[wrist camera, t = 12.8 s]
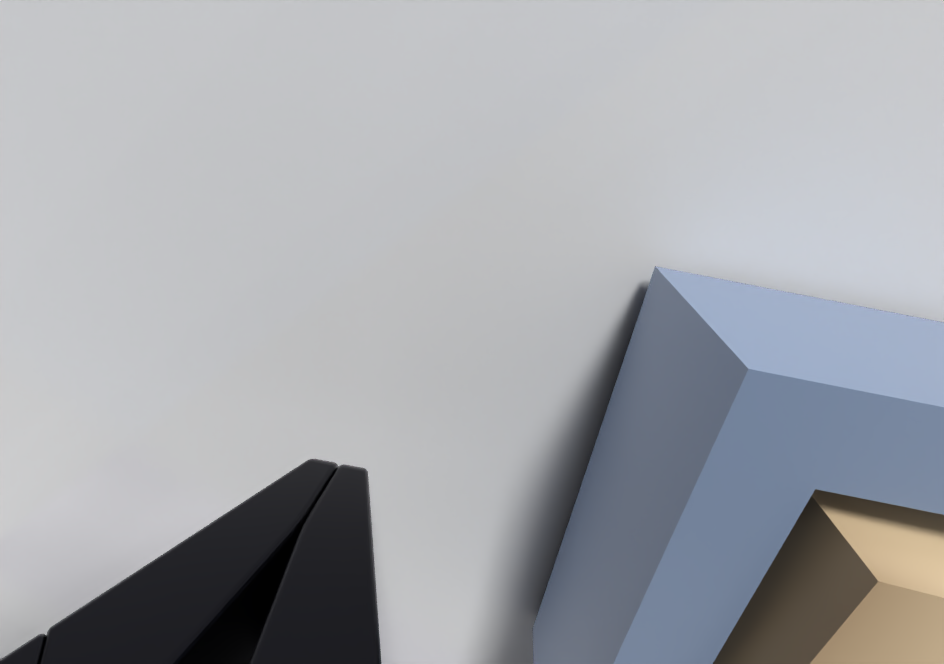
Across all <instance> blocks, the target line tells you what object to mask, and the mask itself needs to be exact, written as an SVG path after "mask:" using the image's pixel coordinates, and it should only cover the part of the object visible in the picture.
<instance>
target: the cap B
mask: <svg viewBox="0 0 944 664" xmlns="http://www.w3.org/2000/svg"><path fill="white" fill-rule="evenodd" d="M815 489H817V490H822V491H827V492H832V493H837V494H842V495H847V496H852V497H857V498H862V499H867V500H872V501H877V502H882V503H887V504H892V505H897V506H902V507H907V508H912V509H917V510H922V511H927V512H932V513H938V514H943V515H944V322H938V321H933V320H928V319H923V318H918V317H913V316H908V315H902V314H897V313H892V312H887V311H882V310H877V309H872V308H867V307H861V306H856V305H851V304H846V303H841V302H836V301H831V300H825V299H820V298H815V297H810V296H805V295H800V294H795V293H789V292H784V291H779V290H774V289H769V288H764V287H759V286H753V285H748V284H743V283H738V282H733V281H728V280H723V279H717V278H712V277H707V276H702V275H697V274H692V273H687V272H681V271H676V270H671V269H666V268H661V267H656V266H655V269H654V272H653V274H652V277H651V280H650V283H649V286H648V289H647V292H646V295H645V298H644V301H643V304H642V307H641V310H640V313H639V316H638V319H637V322H636V325H635V328H634V331H633V334H632V337H631V340H630V342H629V345H628V348H627V351H626V354H625V357H624V360H623V363H622V366H621V369H620V372H619V375H618V378H617V381H616V384H615V387H614V390H613V393H612V396H611V399H610V402H609V405H608V408H607V410H606V413H605V416H604V419H603V422H602V425H601V428H600V431H599V434H598V437H597V440H596V443H595V446H594V449H593V452H592V455H591V458H590V461H589V464H588V467H587V470H586V473H585V475H584V478H583V481H582V484H581V487H580V490H579V493H578V496H577V499H576V502H575V505H574V508H573V511H572V514H571V517H570V520H569V523H568V526H567V529H566V532H565V535H564V538H563V541H562V543H561V546H560V549H559V552H558V555H557V558H556V561H555V564H554V567H553V570H552V573H551V576H550V579H549V582H548V585H547V588H546V591H545V594H544V597H543V600H542V603H541V606H540V609H539V611H538V614H537V617H536V620H535V623H534V626H533V663H534V664H713V662H714V661H715V659H716V657H717V656H718V654H719V652H720V650H721V649H722V647H723V645H724V644H725V642H726V640H727V639H728V637H729V635H730V633H731V632H732V630H733V628H734V627H735V625H736V623H737V622H738V620H739V618H740V616H741V615H742V613H743V611H744V610H745V608H746V606H747V605H748V603H749V601H750V599H751V598H752V596H753V594H754V593H755V591H756V589H757V588H758V586H759V584H760V582H761V581H762V579H763V577H764V576H765V574H766V572H767V571H768V569H769V567H770V565H771V564H772V562H773V560H774V559H775V557H776V555H777V554H778V552H779V550H780V548H781V547H782V545H783V543H784V542H785V540H786V538H787V537H788V535H789V533H790V531H791V530H792V528H793V526H794V525H795V523H796V521H797V520H798V518H799V516H800V514H801V513H802V511H803V509H804V508H805V506H806V504H807V503H808V501H809V499H810V497H811V496H812V494H813V492H814V491H815Z"/></svg>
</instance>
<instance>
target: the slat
mask: <svg viewBox="0 0 944 664" xmlns="http://www.w3.org/2000/svg"><path fill="white" fill-rule="evenodd" d="M713 664H944V515H943V514H938V513H932V512H927V511H922V510H917V509H912V508H907V507H902V506H897V505H892V504H887V503H882V502H877V501H872V500H867V499H862V498H857V497H852V496H847V495H842V494H837V493H832V492H827V491H822V490H817V489H815V491H814V492H813V494H812V496H811V497H810V499H809V501H808V503H807V504H806V506H805V508H804V509H803V511H802V513H801V514H800V516H799V518H798V520H797V521H796V523H795V525H794V526H793V528H792V530H791V531H790V533H789V535H788V537H787V538H786V540H785V542H784V543H783V545H782V547H781V548H780V550H779V552H778V554H777V555H776V557H775V559H774V560H773V562H772V564H771V565H770V567H769V569H768V571H767V572H766V574H765V576H764V577H763V579H762V581H761V582H760V584H759V586H758V588H757V589H756V591H755V593H754V594H753V596H752V598H751V599H750V601H749V603H748V605H747V606H746V608H745V610H744V611H743V613H742V615H741V616H740V618H739V620H738V622H737V623H736V625H735V627H734V628H733V630H732V632H731V633H730V635H729V637H728V639H727V640H726V642H725V644H724V645H723V647H722V649H721V650H720V652H719V654H718V656H717V657H716V659H715V661H714V662H713Z"/></svg>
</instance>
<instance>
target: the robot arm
mask: <svg viewBox="0 0 944 664" xmlns="http://www.w3.org/2000/svg"><path fill="white" fill-rule="evenodd" d="M0 664H381V651H380V637H379V623H378V609H377V595H376V581H375V567H374V553H373V538H372V524H371V510H370V496H369V482H368V472H367V470H366V469H364V468H360V467H355V466H350V465H341V466H339V467H338V465H337V464H336V463H334V462H329V461H323V460H318V459H310V460H308V461H306V462H304V463H303V464H301V465H300V466H298V467H297V468H295V469H294V470H292V471H290V472H289V473H287V474H286V475H284V476H283V477H281V478H280V479H278V480H277V481H275V482H274V483H272V484H270V485H269V486H267V487H266V488H264V489H263V490H261V491H260V492H258V493H257V494H255V495H254V496H252V497H250V498H249V499H247V500H246V501H244V502H243V503H241V504H240V505H238V506H237V507H235V508H234V509H232V510H230V511H229V512H227V513H226V514H224V515H223V516H221V517H220V518H218V519H217V520H215V521H214V522H212V523H210V524H209V525H207V526H206V527H204V528H203V529H201V530H200V531H198V532H197V533H195V534H194V535H192V536H190V537H189V538H187V539H186V540H184V541H183V542H181V543H180V544H178V545H177V546H175V547H174V548H172V549H170V550H169V551H167V552H166V553H164V554H163V555H161V556H160V557H158V558H157V559H155V560H154V561H152V562H150V563H149V564H147V565H146V566H144V567H143V568H141V569H140V570H138V571H137V572H135V573H134V574H132V575H130V576H129V577H127V578H126V579H124V580H123V581H121V582H120V583H118V584H117V585H115V586H114V587H112V588H110V589H109V590H107V591H106V592H104V593H103V594H101V595H100V596H98V597H97V598H95V599H94V600H92V601H90V602H89V603H87V604H86V605H84V606H83V607H81V608H80V609H78V610H77V611H75V612H74V613H72V614H71V615H69V616H67V617H66V618H64V619H63V620H61V621H60V622H58V623H57V624H55V625H54V626H52V627H51V628H50V629H49V630H48V632H47V636H46V635H45V634H40V635H38V636H36V637H35V638H33V639H32V640H30V641H28V642H27V643H25V644H24V645H22V646H21V647H19V648H18V649H16V650H15V651H13V652H12V653H10V654H8V655H7V656H5V657H4V658H2V659H1V660H0Z"/></svg>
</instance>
